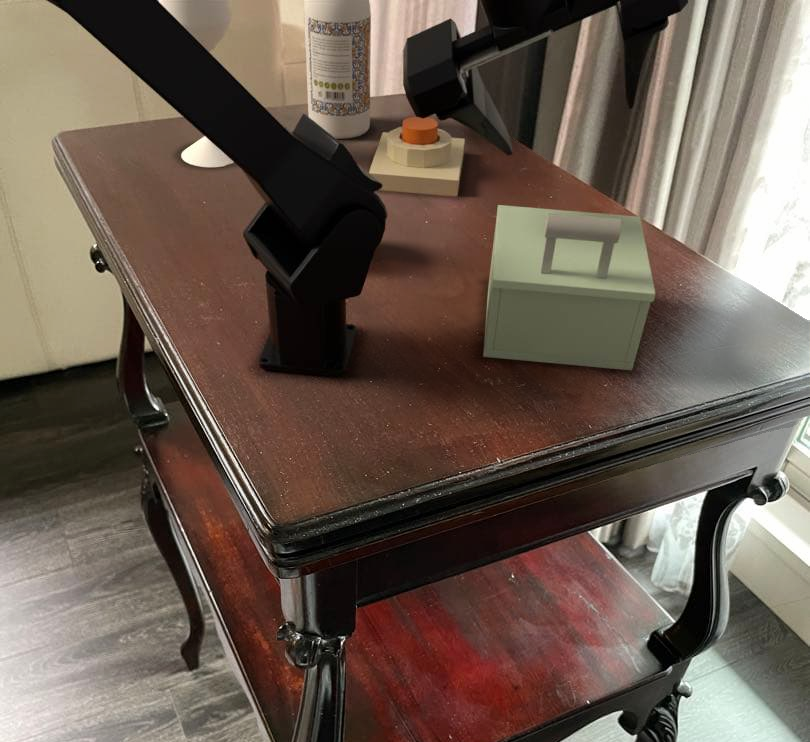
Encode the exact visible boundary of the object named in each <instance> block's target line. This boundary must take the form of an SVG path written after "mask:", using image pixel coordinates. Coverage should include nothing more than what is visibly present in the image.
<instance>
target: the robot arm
mask: <svg viewBox="0 0 810 742" xmlns="http://www.w3.org/2000/svg"><path fill="white" fill-rule="evenodd" d="M45 1H46V2H48V3H50V4H52V5H53V6H55V7H56V8H58V9H60V10H61V11H63V12H64V13H66V14H67V15H68V16H70V17H71V18H72V19H73V20H74V21H75V22H76V23H77V24H78V25H80V26H81V28H83V29H84V30H85V31H86V32H87V33H89V35H91V36H92V37H93V38H94V39H96V41H97V42H99V43H100V44H101V45H102V46H103V47H104V48H106V49H107V50H108V52H110V53H111V54H112V55H113V56H114V57H116V58H117V59H118V60H119V61H120V62H121V63H122V64H123V65H125V67H126V68H128V69H129V70H130V71H131V72H132V73H133V74H134V75H136V76H137V77H138V78H139V79H140V80H141V81H142V82H144V84H146V85H147V86H148V87H149V88H150V89H151V90H152V91H154V93H156V94H157V95H158V96H159V97H161V99H163V100H164V101H165V103H167V104H168V105H169V106H171V108H172V109H174V110H175V111H176V112H177V113H178V114H179V115H180V116H182V117H183V118H184V119H186V121H187V122H188V123H190V124H191V126H192V127H194V128H195V129H196V130H197V131H199V133H200V134H202V135H203V137H204V136H205V137H206V138H208V139H209V140H210V141H211V142H212V143H213V144H214V145H215V146H217V147H218V148H219V149H220V150H221V151H222V152H223V153H224V154H226V155H227V156H228V157H229V158H230V159H231V160H232V161H233V162H234V163H233V164H235V165H236V166H238V167H239V168H240V169H241V170H242V172H243V173H244V175H245V176H246V178H247V180H249V182H250V184H251V185H252V186H253V188H254V189H255V191H256V192H257V193H258V195H259V196H260V197H261V198H262V200H263V201H264V203H263V205H262V206H261V207H260V209H259V210H258V211H257V212H256V214H255V215H254V217H253V218H252V219H251V220H250V222H249V223H248V225H247V226H246V227H245V229H244V230H243V232H242V236H243V239H244V241H245V243H246V244H247V246H248V249H249V250H250V252H251V254H252V256H253V257H254V258H255V259H256V260H258V261H259V263H261V264H262V266H263V267H264V268H265V269H266V272H265V275H264V276H265V287H266V299H267V312H268V322H269V334H268V336H267V338H266V341H265V343H264V346H263V349H262V350H261V353H260V356H259V359H258V367H259V368H260V369H263V370H271V371H279V372H280V371H282V372H293V373H302V374H311V375H324V376H333V377H335V376H336V377H342V376H344V375H345V374H346V373H347V369H348V366H349V362H350V358H351V354H352V352H353V347H354V344H355V340H356V336H357V333H358V332H357V331H358V330H357V329H358V328H357V326H356V325H355V324H352V323H347V300H348V299H351V298H355V297H359V296H360V295H361V294H362V292H363V289H364V285H365V283H366V279H367V277H368V274H369V271H370V269H371V265H372V261H373V259H374V255H375V252H376V250H377V248H378V247H379V246H380V244H381V242H382V240H383V237H384V235H385V232H386V225H387V222H386V221H387V219H388V214H389V213H388V210H387V207H386V204H385V203H384V202H383V200H382V199H381V197H380V195H378V194H377V193H375V192H378V191H380V190H379V189H381V188H382V184H381V183H380V182H379V181H378V180H377V179H375V178H374V177H373V176H372V175H370V174H369V172H368V170H365V169H364V168H363V167H362V166H361V165H360V164H359V163H357V162H356V160H355V159H354V157H353V155H352V154H351V153H350V151H349V150H348V149H347V147H346V146H345V145H344V144H343V142H341V141H340V140H339V139H336V138H334V137H333V136H332V135H331V134H329V133H328V132H327V131H326V130H324V129H323V128H322V127H321V126H319V125H318V124H317V123H316V122H314V121H313V120H312V119H311V118H309V115H307V114H306V113H303V114H301V117H300V118H299V121H297V124H296V125H295V127H294V129H293V130H292V129H290V128H288V127H287V126H285V125H284V124H282V123H281V122H280V121H279V120H278V119H277V118H276V117H274V115H273V114H272V113H271V112H270V111H268V110H267V108H266V107H264V106H263V104H262V103H261V102H260V101H259V100H257V99H256V98H255V96H254V95H253V94H252V93H251V92H250V91H249V90H247V88H245V87H244V86H243V84H241V83H240V81H239V80H238V79H237V78H236V77H235V76H234V75H233V74H232V73H231V72H230V71H229V70H228V69H226V67H225V66H224V65H222V63H220V61H219V60H218V59H217V58H216V57H215V56H213V54H212V53H211V52H208V51H207V50H206V49H205V48H204V47H203V46H202V45H201V44H200V43H199V42H198V41H197V40H196V39H195V38H194V36H193V35H192V34H191V33H190V32H189V31H188V30H187V29H186V28H185V27H184V26H183V25H182V24H181V23H180V22H179V21H178V20H177V19H176V18H175V17H174V16H173V15H172V14H171V13H170V12H169V11H168V10H167V9H166V8H165V7H164V6H163V5H162V4H161V3H160V2H159V0H45ZM479 2H480V5H481V8H482V10H483V14H484V16H485V19H486V21H487V24H488V25H486V26H484V27H482V28H479V29H477V30H475V31H473V32H470V33H469V34H466V35H464V36H461V33H460V30H459V28H458V26H457V23H456V22H455V20H453V19H452V18H451V17H450V18H448V19H445V20H444V21H441V22H439V23H438V24H435V25H433V26H431V27H429V28H427V29H425V30H422V31H419V32H418V33H415V34H413V35H411V36H409V37H407V38H406V40H405V43H404V47H403V50H402V68H403V69H402V86H403V89H404V93H405V96H406V99H407V101H408V103H409V105H410V108H411V110H412V111H413V113H414V115H415V117H419V118H423V119H424V118H426V117H427V118H429V117H431V116H434V115H435V117H436V119H437V120H438V121H440V122H442V121H443V122H444V121H446V120H449V119H452V120H454V121H456V122H458V123H460V124H461V125H463V126H465V127H467V128H469V129H470V130H472V131H474V132H476V133H477V134H478V135H480V136H482V137H483V138H484V139H485V140H487V141H488V142H490V144H492V145H494V146H495V147H496V148H497V149H499V150H500V151H502V152H503V153H504V154H505V155H506V156H513V154H514V148H513V147H514V146H513V143H512V140H511V137H510V134H509V132H508V129H507V127H506V125H505V123H504V121H503V118H502V117H501V115H500V113H499V112H498V109H497V107H496V105H495V104H494V101H493V100H492V97H491V96H490V94H489V91H488V90H487V88H486V86H485V84H484V83H483V80H482V77H481V75H480V72H479V69H478V67H480V66H482V65H485V64H486V63H489V62H491V61H494V60H495V59H497V58H501V57H503V56H505V55H507V54H510V53H512V52H514V51H515V52H516V51H517V50H520V49H522V48H524V47H526V46H528V45H531V44H533V43H535V42H538V41H540V40H542V39H545V38H547V37H549V36H551V35H552V34H553V33H555V32H557V31H560V30H561V29H564V28H566V27H568V26H569V27H570V26H572V25H573V24H575V23H578V22H580V21H583V20H585V19H587V18H590V17H592V16H594V15H598V14H599V13H601V12H604V11H606V10H609V9H610V8H613V7H614V9H615V16H616V26H617V36H618V48H619V49H618V50H619V59H620V68H621V69H620V70H621V80H622V81H621V82H622V85H623V91H624V96H625V101H626V104H627V108H628V110H632V109H634V108H635V106H636V100H637V96H638V91H639V86H640V81H641V77H642V71H643V67H644V65H645V61H646V58H647V56H648V53H649V50H650V48H651V45H652V42H653V40H654V37H655V35H657V34H658V33H660V32H662V31H664V30H666V28H668V26H669V24H670V23H669V22H670V20H669V17H671V16H673V15H676V14H678V13H680V12H682V11H683V10H684V8H685V7H686V6H687V5H688V4H689V0H479Z"/></svg>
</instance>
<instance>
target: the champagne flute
mask: <svg viewBox="0 0 810 742" xmlns="http://www.w3.org/2000/svg"><path fill="white" fill-rule="evenodd" d="M158 1H159V2H160V3H161V4H162V5H163V6H164V7H165V8H166V9H167V10H168V11H169V12H170V13H171V14H172V15H173V16H174V17H175V18H176V19H177V20H178V21H179V22H180V23H181V24H182V25H183V26H184V27H185V28H186V29H187V30H188V31H189V32H190V33H191V34H192V35H193V36H194V38H195V39H196V40H197V41H198V42H199V43H200V44H201V45H202V46H203V47H204V48H205V49H206V50H207V51H208V52H209V53H211V52H212V51H213V50H214V49H215V48H216V47H217V45H218V44H219V42H220V41H221V40H222V39H223V37H225V35H226V33H227V31H228V29H229V28H230V27H229V26H230V24H231V21H232V15H233V14H232V8H231V3H230V0H158ZM180 157H181V159H182V160H183V162H185V163H187V164H189V165H191V166H195V167H200V168H221V167H226V166H227V165H231V164H235V163H234V162H233V161H232V160H231V159H230V158H229V157H228V156H227V155H226V154H224V153H223V152H222V151H221V150H220V149H219V148H218V147H217V146H215V145H214V144H213V143H212V142H211V141H210V140H209V139H208V138H206V137H205V136H204V135H203V136H202V137H201V138H200V139H198V140H197V141H195V142H194V143H193V144H191V145H190V146H188V147H187V148H185V149H184V150H182V152H181V155H180Z"/></svg>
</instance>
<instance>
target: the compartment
mask: <svg viewBox="0 0 810 742" xmlns="http://www.w3.org/2000/svg"><path fill="white" fill-rule="evenodd" d="M496 222H497V217H496V220H495V223H496ZM495 236H496V225H495V228H494V236H493V245H492V251H491V260H490V262H491V263H490V269H489V277H488V278H489V279H488V288H487V298H486V299H487V301H486V314H485V326H484V340H483V352H482V353H483V354H482V356H483V358H492V359H493V358H494V359H504V360H514V361H523V362H524V361H526V362H536V363H547V364H555V365H556V364H558V365H567V366H580V367H590V368H600V369H602V368H603V369H612V370H622V371H633V368H634V364H635V362H636V358H637V353H638V349H639V346H640V343H641V340H642V336H643V333H644V329H645V324H646V321H647V319H648V318H647V317H648V314H649V310H650V307H651V304H652V302H647V301H636V300H624V299H613V298H602V297H591V296H579V295H568V294H557V293H545V292H534V291H523V290H512V289H500V288H492V279H493V265H494V251H495Z"/></svg>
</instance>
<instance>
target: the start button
mask: <svg viewBox="0 0 810 742" xmlns="http://www.w3.org/2000/svg"><path fill="white" fill-rule="evenodd" d="M401 127H402V141H403V142H406V143H409V144H413V145H430V144H434V143H436V142H437V134H438V129H439V123H438V121H436V119H433V118H431V117H426V118H424V119H423V118H419V117H416V116H410V117H407V118H404V119H403V121H402V126H401Z"/></svg>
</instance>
